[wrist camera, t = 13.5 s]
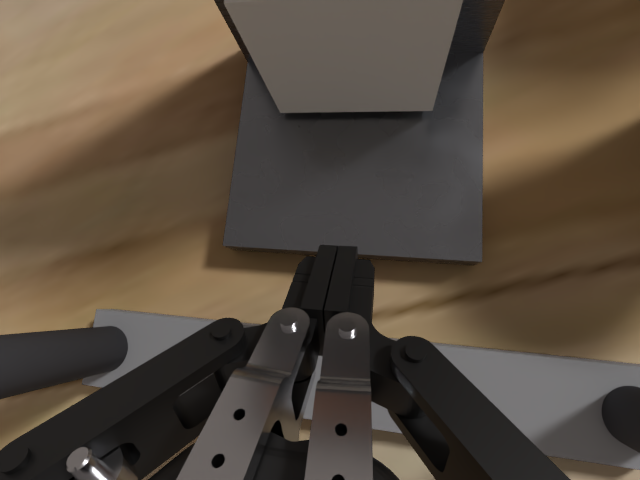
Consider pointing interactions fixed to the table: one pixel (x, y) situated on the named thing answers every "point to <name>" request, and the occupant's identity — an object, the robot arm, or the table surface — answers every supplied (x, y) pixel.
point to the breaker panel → (367, 167)
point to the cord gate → (473, 362)
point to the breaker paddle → (348, 51)
